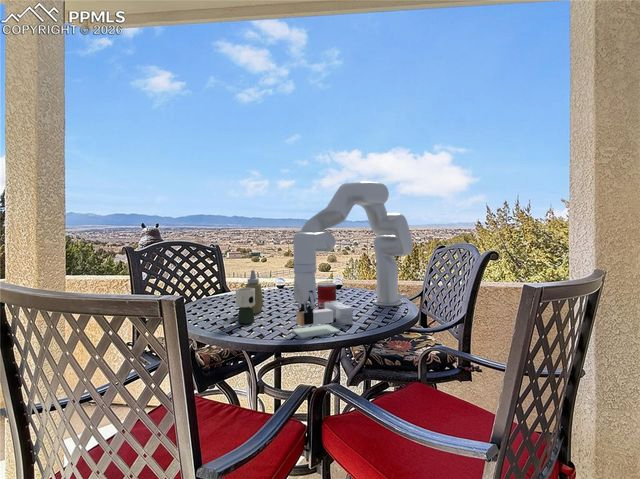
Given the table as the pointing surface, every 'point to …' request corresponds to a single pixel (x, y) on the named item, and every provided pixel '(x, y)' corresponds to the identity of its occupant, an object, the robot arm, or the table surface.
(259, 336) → the table surface
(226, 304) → the table surface
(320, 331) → the sage mat
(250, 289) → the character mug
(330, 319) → the plug bar
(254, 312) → the squeeze bottle
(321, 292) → the canned food
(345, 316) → the housing
